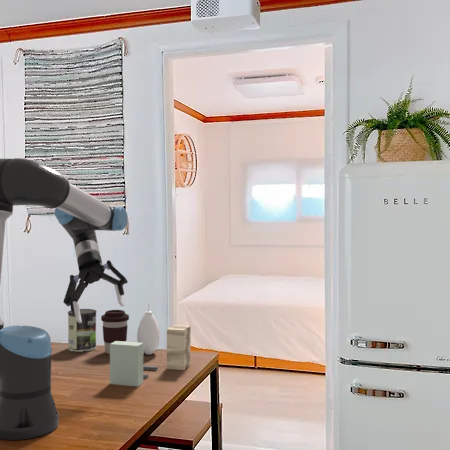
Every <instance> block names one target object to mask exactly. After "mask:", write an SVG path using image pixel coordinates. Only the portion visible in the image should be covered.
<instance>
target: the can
mask: <svg viewBox="0 0 450 450" xmlns="http://www.w3.org/2000/svg"><path fill="white" fill-rule="evenodd" d="M79 309H80V314H81V320H82V323H79V322H78V321H77V320H76V318H75V314H73V313H72V311H71V309H70V310H69V311H68V312H67V317H68V318H67V319H68V322H67V323H68V324H67V326H68V327H67V329H68V336H67V339H68V340H67V341H68V342H67V344H68V345H67V346H68V348H67V349H68V351H70V352H73V351H74V353H84V352H83V351H86V352H91V351H93V349H94V350H96V349H97V310H96V309H92V308H79ZM95 348H96V349H95ZM90 350H91V351H90Z"/></svg>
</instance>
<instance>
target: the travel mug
mask: <svg viewBox="0 0 450 450" xmlns="http://www.w3.org/2000/svg"><path fill="white" fill-rule="evenodd" d="M100 317H101V318H100V321H102V336H103V337H102V338H103V339H102V340H103V342H104V353H106V354H108V355H110V344H111V343H113V342H115V341H125V342H127V340H128V339H127V338H128V321H129V320H130V315H129V314H128V313H126V311H125V310H124V309H110V310H106V311H105V312H104V314H103V315H101V316H100Z"/></svg>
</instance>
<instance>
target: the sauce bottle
mask: <svg viewBox="0 0 450 450" xmlns="http://www.w3.org/2000/svg"><path fill="white" fill-rule="evenodd" d="M138 324H139V325H138V328H137V335H136V336H137V337H136V339H137V342H139V343H143V354H145V355H152V354H154V351H156V350H157V349H158V347H159V344H160V337H161V336H160V328H159V323H158V321H157V319H156V317H155V315H154V314H153V311H151V310H150V304H149V303H148V304H147V310H146V311H144V314H143V315H142V317H141V318H140V322H139V323H138Z"/></svg>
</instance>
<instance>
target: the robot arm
mask: <svg viewBox="0 0 450 450" xmlns="http://www.w3.org/2000/svg"><path fill="white" fill-rule="evenodd" d="M14 206H39V207H40V206H41V207H44V208H46V209H54V216H55V217H56V219H57V222H58V223H59V224H60V226H61V227H63V229H64V230H65V232H67V234H68V235H69V236H70V238H71V239H72V242H73V245H74V250H75V256H76V260H77V267H78V274H76V275H73V274H70V275H69V283H68V287H67V290H66V291H65V292H66V293H65V295H64V298H63V303H64V304H65V305H66V307H70V310H71V311H72V313H73V314H75V318H76V320H77V321H78V322H79V323H82V320H81V314H80V309H81V308H80V304H78V303H79V300H80V299H81V296H82V295H83V293H84V291H85V289H86V288H87V287H88V286H89V285H91V284H93V283H96V282H99V281H100V280H104V281H106V282H109V283H110V284H112V285H114V290H115V293H116V294H115V295H116V299H117V302H118V304H119V305H120V307H124V306H125V304H124V300H123V297H122V296H124V295H125V291H124V285H125V284H127V283H128V282H129V281H128V279H127V278H126V277H125V276H124V275H123V274H122V273H121V272H120V271H119V270H118V269H117V268H116V267H115V266H114V264H113V263H112V261H110V260H109V259H108V260H107V261H106V263H104V264H103V261H102V256H101V251H100V248H99V243H98V238H97V234H96V231H108V232H109V231H112V232H115V231H119V232H120V231H123V230H124V229H126V228H127V227H126V226H127V224H128V212H127V210H126V208H124V207H122V206H118V205H115V206H111V205H108V204H107V203H105V202H104V201H101V200H100V199H98V198H96V197H94V196H92V195H91V194H89V193H88V192H86V191H84V190H83V189H80V188H79V187H77V186H75V185H74V184H71V183H70V181H69V179H68V178H67V177H66V176H65V175H64V174H63V173H61V172H59V171H57V170H55V169H53V168H51V167H49V166H47V165H45V164H43V163H40V162H37V161H34V160H31V159H28V158H20V157H19V158H0V284H1V281H2V268H3V267H2V266H3V255H4V242H5V231H6V221H7V220H8V219H9V218H10V217H11V216H12V215H13V211H14ZM105 270H109V271H111V272H112V273H113V274H114V275H115V277H117V278H118V279H117V278H115V277H112V276H111V275H109V274H107V273H105ZM77 283H78V284H77ZM4 324H5V322H4V321H3V320H2V319H1V318H0V440H1V439H2V440H7V441H16V440H17V441H19V440H21V441H22V440H27V439H33V438H38V437H41V436H44V435H46V434H49V433H51V432H53V431H55V429H56V428H58V426H59V424H60V421H59V420H60V419H59V417H60V416H59V412H58V410H57V406H56V403H55V400H54V398H53V394H52V352H53V350H52V349H53V348H52V341H51V336H50V334H49V333H48V331H46V330H45V329H43V328H40V327H37V326H34V325H33V326H30V325H10V326H8V325H7V326H5V327H4Z"/></svg>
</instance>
